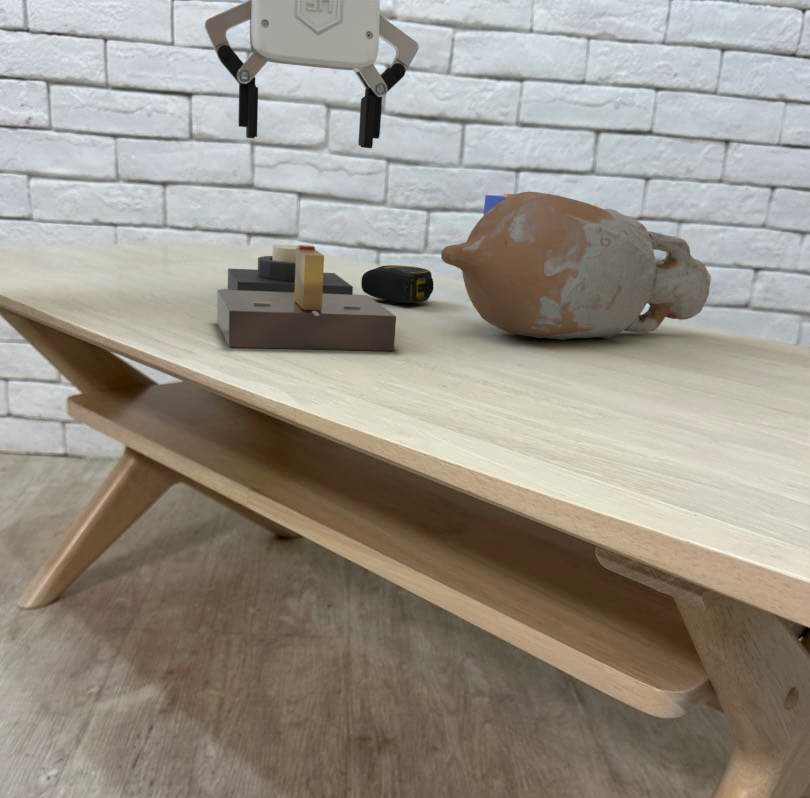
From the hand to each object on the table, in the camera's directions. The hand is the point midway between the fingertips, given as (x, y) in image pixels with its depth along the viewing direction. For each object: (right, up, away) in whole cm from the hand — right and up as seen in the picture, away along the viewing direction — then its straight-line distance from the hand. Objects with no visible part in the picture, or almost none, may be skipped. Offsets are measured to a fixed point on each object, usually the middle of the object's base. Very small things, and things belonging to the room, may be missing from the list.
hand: (309, 142), depth 84 cm
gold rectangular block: (0, -13, +2) cm, 13 cm away
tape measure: (+7, -8, +26) cm, 28 cm away
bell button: (-4, -4, +23) cm, 23 cm away
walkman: (+20, -5, +36) cm, 42 cm away
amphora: (+24, -14, +14) cm, 31 cm away
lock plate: (-1, -15, +4) cm, 16 cm away
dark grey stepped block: (-5, -7, +24) cm, 26 cm away
